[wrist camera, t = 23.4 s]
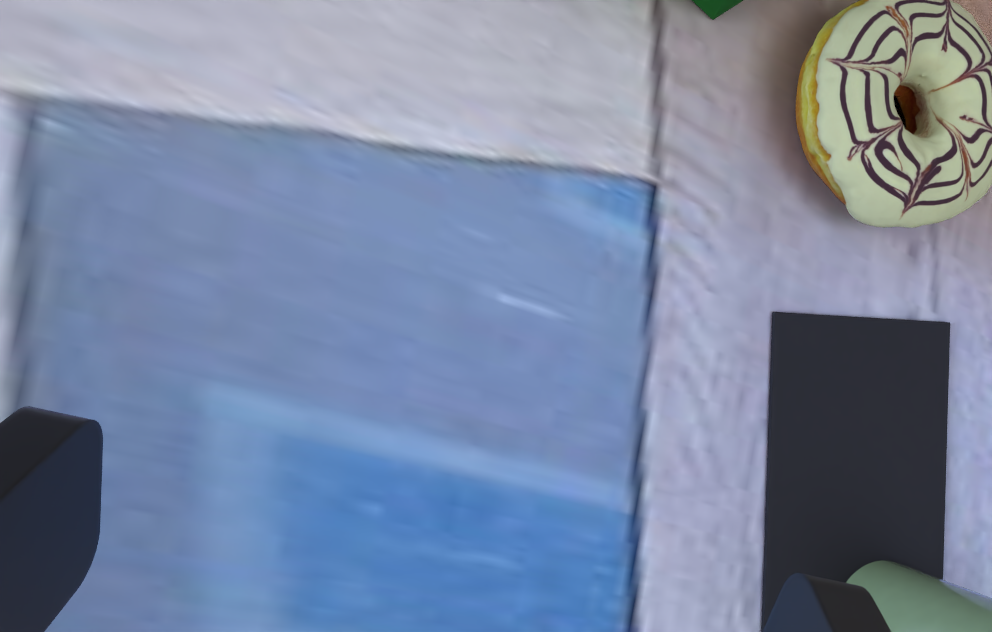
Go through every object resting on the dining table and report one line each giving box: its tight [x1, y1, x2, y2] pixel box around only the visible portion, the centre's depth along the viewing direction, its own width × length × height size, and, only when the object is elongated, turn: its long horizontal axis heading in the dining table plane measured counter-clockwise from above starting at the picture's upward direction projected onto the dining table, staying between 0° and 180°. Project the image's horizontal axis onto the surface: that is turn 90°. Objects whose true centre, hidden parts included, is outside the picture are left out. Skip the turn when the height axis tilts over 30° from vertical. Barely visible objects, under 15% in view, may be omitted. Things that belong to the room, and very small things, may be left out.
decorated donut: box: [796, 0, 992, 228], centre depth 37 cm, size 10×11×4 cm
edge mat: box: [762, 312, 950, 632], centre depth 38 cm, size 28×10×1 cm, turn 177°
